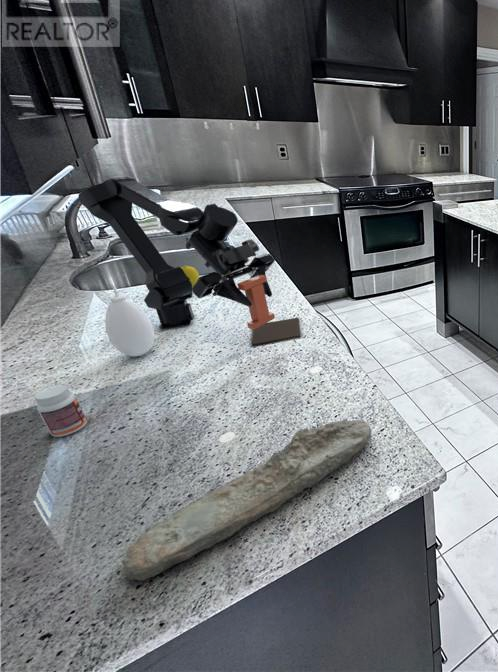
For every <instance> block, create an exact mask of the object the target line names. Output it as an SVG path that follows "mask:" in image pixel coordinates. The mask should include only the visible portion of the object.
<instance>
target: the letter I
mask: <svg viewBox="0 0 498 672" xmlns="http://www.w3.org/2000/svg"><path fill="white" fill-rule="evenodd" d="M265 275H266V274H265ZM265 275H258V276H255V277H253V278H251V277H250V278H248V279H246V280H243V281H241V282H238V283H237V288H238V289H239V290H240V291H244V293H245V294H244V295H245V296H246V297H247V298H248V299H249V301H250V302H251V303H252V305H251V306H250V307H248V310H249V315H250V319H251V320H250V321H248V322H246V324H247V328H248V329H250V330H253V329H256V328H258V327H260V326H261V325H263V324H265V323H269V322H272V320H275V319H276V318H275V317H276V316H275V313H274V312H270V311H269V307H268V302H267V297H266V294H265V292H264V287H263V284H262V283H264V282H266V281H267V282H268V277H267V275H266V276H265Z"/></svg>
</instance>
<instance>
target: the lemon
mask: <svg viewBox="0 0 498 672" xmlns="http://www.w3.org/2000/svg"><path fill="white" fill-rule="evenodd" d="M181 268H182V269H183V271H184V273H185V274H186V276H187V277H188V278H190V281H191V283H192V290H193V286H194V285H195V283H196V282H197V280H198V279H199V277H200V274H199V272H198V270H196V268H195V267H193V266H189V265H183V266H181Z"/></svg>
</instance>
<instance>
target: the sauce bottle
mask: <svg viewBox="0 0 498 672" xmlns="http://www.w3.org/2000/svg"><path fill="white" fill-rule="evenodd" d="M112 288H113V292H114V295H113V296H111V297H110V299H109V300H110V303H109V304H108V306H107V309H106V311H105V317H104V325H105V326H104V327H105V332H106V335H107V337H108V340H109V342H110V344H111V345H112V346H113V347H114V349H116V350H117V351H119V352H120V353H121V354H123V355H125V356H130V357H141V356H144V355H145V354H147V353H148V352H149V351H150V349H152V348H153V346H154V343H155V335H156V334H155V333H156V332H155V329H154V325H153V323H152V322H151V320H150V318H149V316H148V315H147V313H146V311H144V310H143V309H142V308H141V307H140V306H139V305H138V304H137V303H135V302H134V301H133V300H131V299H129V298H127V295H125V294H119V293H118V290H117V289H116V286H114V285H113V286H112Z"/></svg>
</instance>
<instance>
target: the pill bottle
mask: <svg viewBox="0 0 498 672" xmlns="http://www.w3.org/2000/svg"><path fill="white" fill-rule="evenodd" d="M34 400H35V401H36V403H37V406H36V410H37V413H38V414H39V416H40V417H41V419H42V421H43V423H44V425H45V427H46V429H47V430H48V431H49V434H50V435H51V436H52V437H55V438H61V437H66V436H69V435H72V434H74V433H76V432H78V431H80V430H82V429H83V428H84V427H85V426H86V424H87V423H88V420H87V418H86V416H85V414H84V412H83V409H82V408H81V405H80V404H79V402H78V399H77V397H76V395H75V394H73V393H71V391H70V390H69V388H68V386H67V385H64V384H57V385H53V386H50V387H47V388H44V389H42V390H40V391H38V392H37V393H36V394H35V395H34Z"/></svg>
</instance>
